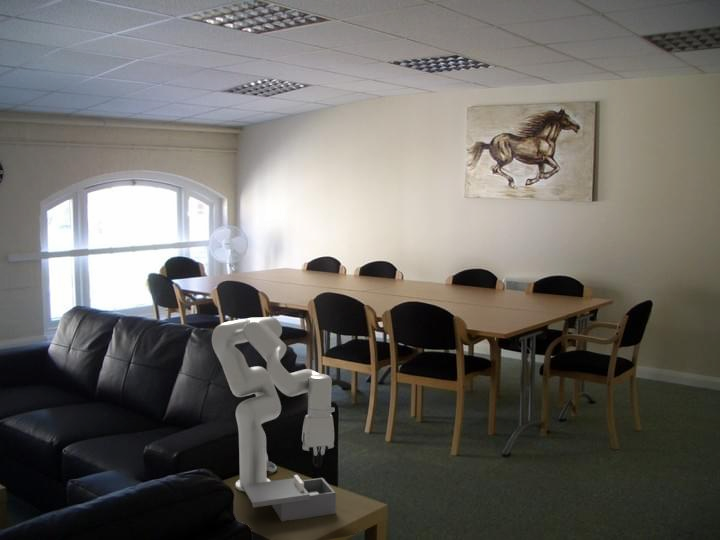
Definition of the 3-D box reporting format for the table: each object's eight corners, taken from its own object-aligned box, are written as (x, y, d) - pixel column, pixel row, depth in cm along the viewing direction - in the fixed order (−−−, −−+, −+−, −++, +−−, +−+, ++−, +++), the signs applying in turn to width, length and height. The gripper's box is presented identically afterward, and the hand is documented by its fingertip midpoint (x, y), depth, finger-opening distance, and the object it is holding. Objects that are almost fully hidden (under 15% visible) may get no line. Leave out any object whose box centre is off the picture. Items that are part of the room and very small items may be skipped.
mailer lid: (242, 489, 247) (242, 477, 247) (296, 482, 254) (296, 470, 253) (252, 507, 233) (252, 494, 232) (309, 499, 239) (309, 486, 239)
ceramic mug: (249, 476, 277) (249, 456, 276) (247, 468, 285) (247, 449, 284) (277, 474, 279) (277, 454, 278) (275, 467, 287) (275, 447, 286)
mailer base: (271, 505, 250) (271, 484, 250) (322, 497, 256) (322, 477, 256) (281, 521, 237) (281, 500, 237) (335, 513, 243) (335, 492, 243)
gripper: (337, 407, 252) (335, 459, 254) (294, 410, 247) (292, 463, 249) (344, 413, 245) (342, 467, 247) (300, 417, 240) (298, 472, 242)
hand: (317, 465), depth 248 cm, fingers closed
